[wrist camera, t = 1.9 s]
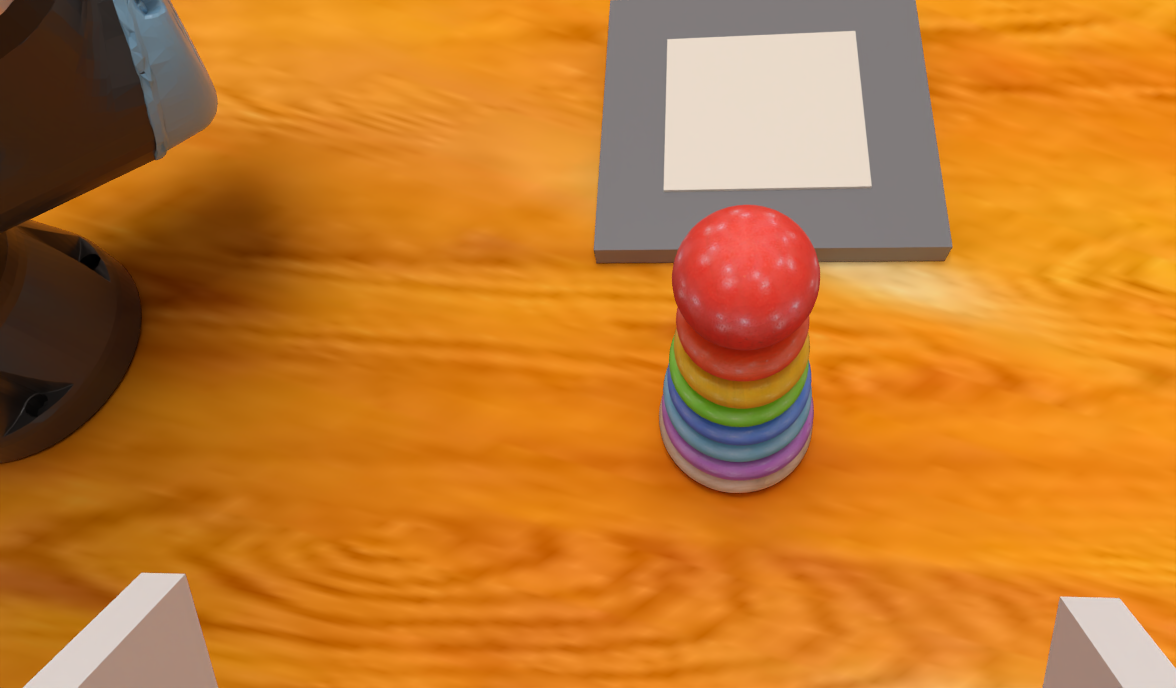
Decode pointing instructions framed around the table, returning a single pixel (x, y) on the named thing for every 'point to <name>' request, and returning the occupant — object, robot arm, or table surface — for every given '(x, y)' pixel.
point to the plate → (769, 126)
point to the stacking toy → (741, 350)
